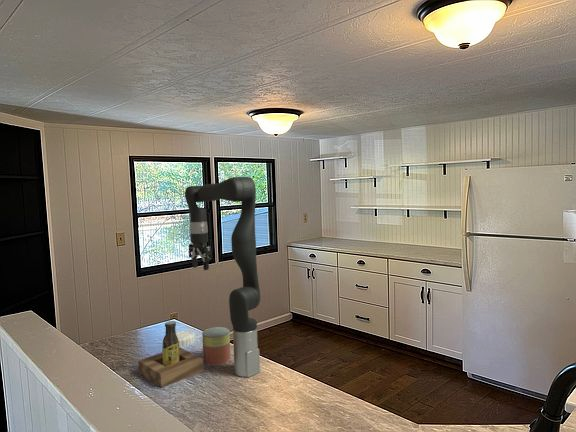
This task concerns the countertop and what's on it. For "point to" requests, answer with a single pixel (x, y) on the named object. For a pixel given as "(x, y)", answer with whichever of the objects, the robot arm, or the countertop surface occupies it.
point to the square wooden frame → (170, 368)
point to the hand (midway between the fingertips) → (200, 268)
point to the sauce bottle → (170, 345)
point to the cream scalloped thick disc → (185, 338)
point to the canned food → (216, 346)
